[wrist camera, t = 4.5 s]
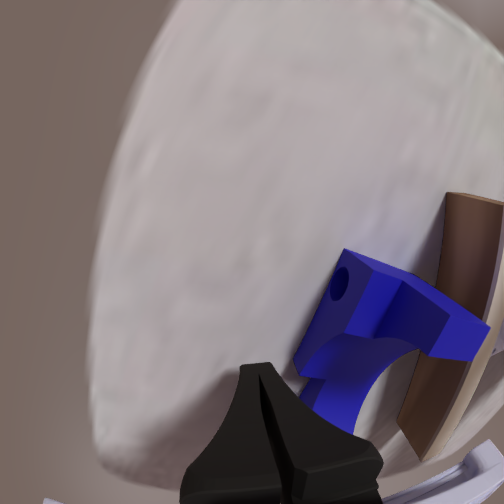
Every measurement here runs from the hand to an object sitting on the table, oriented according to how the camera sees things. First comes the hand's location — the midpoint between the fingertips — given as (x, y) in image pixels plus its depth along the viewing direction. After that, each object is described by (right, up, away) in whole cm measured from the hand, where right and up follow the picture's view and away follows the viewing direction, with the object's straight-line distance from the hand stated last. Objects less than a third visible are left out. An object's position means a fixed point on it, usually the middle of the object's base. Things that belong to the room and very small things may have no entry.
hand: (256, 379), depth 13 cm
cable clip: (+4, 0, +2) cm, 5 cm away
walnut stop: (+11, +1, +2) cm, 11 cm away
